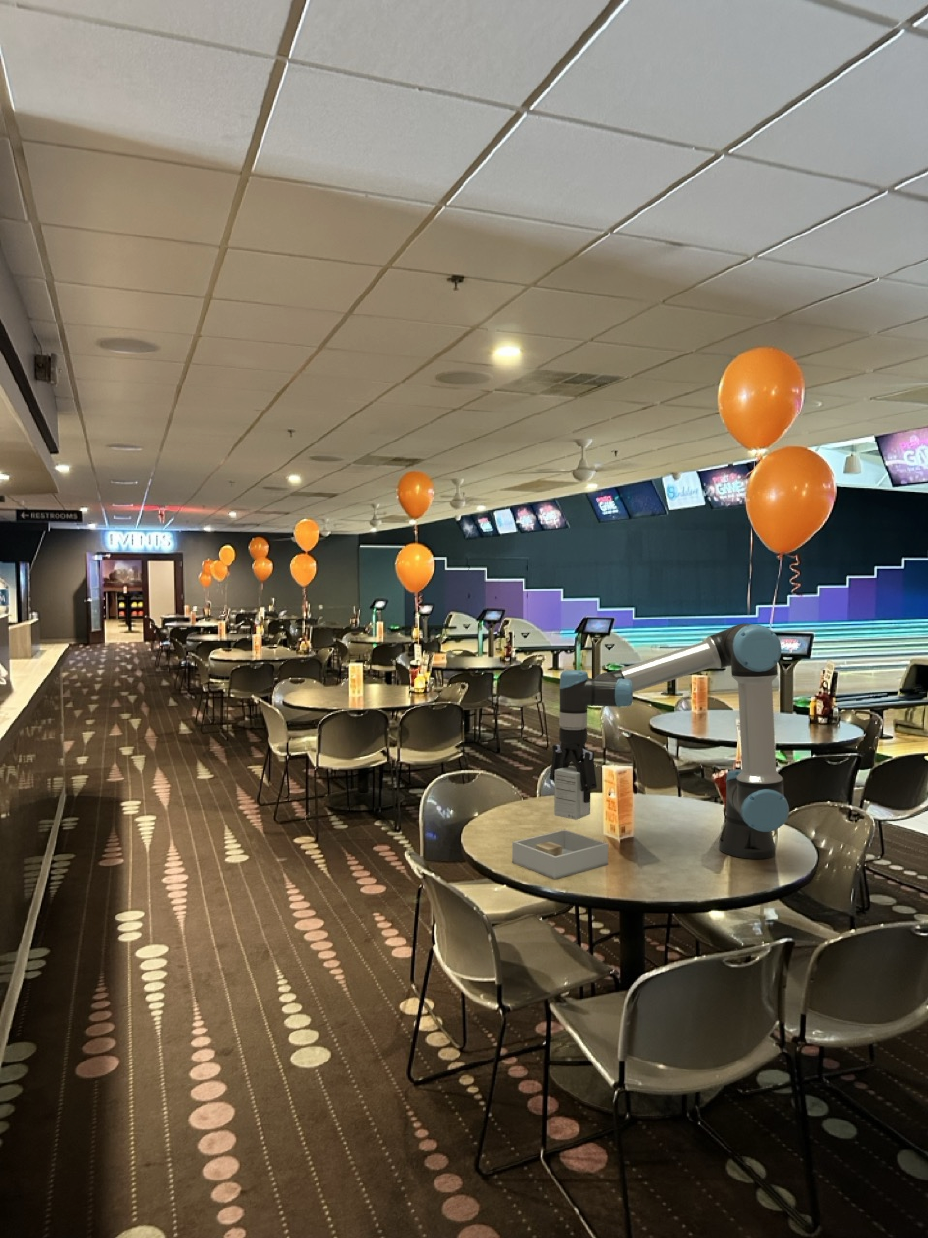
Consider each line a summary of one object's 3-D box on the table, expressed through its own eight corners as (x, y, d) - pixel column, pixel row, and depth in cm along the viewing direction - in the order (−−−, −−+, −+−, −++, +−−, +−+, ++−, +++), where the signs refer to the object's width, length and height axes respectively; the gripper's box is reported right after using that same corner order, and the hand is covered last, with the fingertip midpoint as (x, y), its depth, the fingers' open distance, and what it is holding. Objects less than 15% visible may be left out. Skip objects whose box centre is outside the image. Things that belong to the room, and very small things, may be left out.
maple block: (548, 868, 217) (548, 849, 217) (535, 863, 221) (535, 845, 221) (561, 864, 220) (562, 846, 220) (549, 860, 224) (549, 841, 224)
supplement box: (567, 810, 231) (568, 765, 230) (590, 814, 226) (591, 768, 226) (553, 815, 225) (553, 769, 225) (576, 820, 220) (577, 773, 220)
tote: (608, 864, 223) (608, 843, 222) (555, 879, 211) (555, 857, 210) (564, 849, 236) (564, 829, 236) (512, 862, 224) (512, 842, 224)
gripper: (611, 731, 219) (610, 816, 219) (556, 721, 235) (555, 800, 236) (591, 734, 214) (590, 821, 215) (536, 723, 231) (535, 804, 231)
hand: (572, 810), depth 225 cm, fingers closed on supplement box, 8 cm apart
